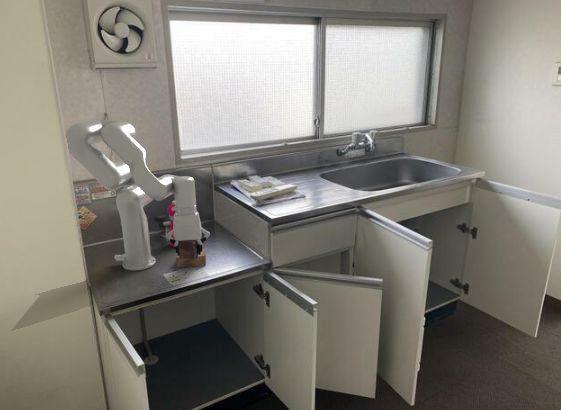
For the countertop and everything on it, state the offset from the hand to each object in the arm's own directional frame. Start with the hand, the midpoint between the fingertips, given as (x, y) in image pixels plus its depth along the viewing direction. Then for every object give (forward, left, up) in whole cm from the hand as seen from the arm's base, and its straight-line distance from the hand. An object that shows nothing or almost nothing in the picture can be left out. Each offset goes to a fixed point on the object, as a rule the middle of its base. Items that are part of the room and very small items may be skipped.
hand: (189, 253), depth 170 cm
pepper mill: (-7, +25, -6) cm, 27 cm away
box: (0, 0, -1) cm, 1 cm away
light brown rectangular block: (0, +5, -6) cm, 8 cm away
